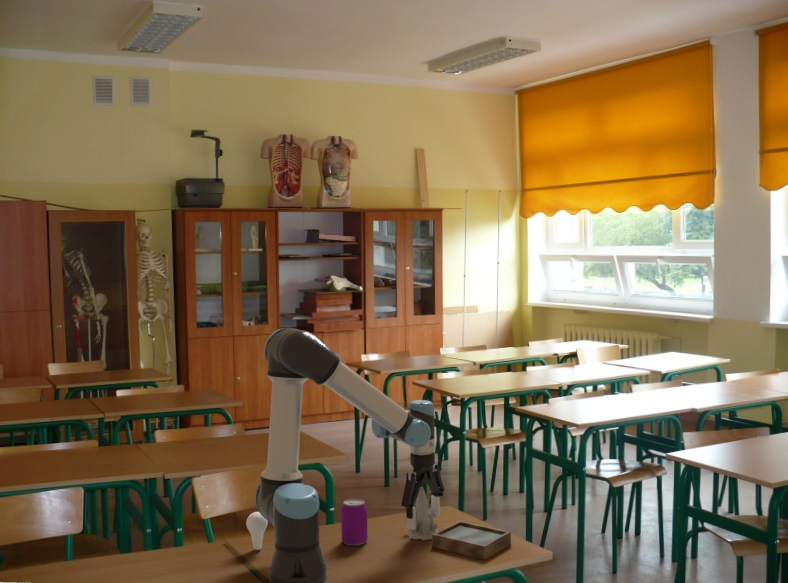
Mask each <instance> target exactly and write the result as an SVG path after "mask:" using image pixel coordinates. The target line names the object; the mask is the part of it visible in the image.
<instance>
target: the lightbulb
mask: <svg viewBox="0 0 788 583" xmlns="http://www.w3.org/2000/svg"><path fill="white" fill-rule="evenodd" d="M245 523H246V524H245V525H246V528H247V530H248V532H249V533H250V536H251V541H252V547H253V549H255V551H259V550H260V549H262V548H263V542H264V534H265V531H266V530H267V527H268V525H269V524H268V523H269V521H268V520H266V519H265V518H264V517H263V516H262V515H261V514H260V513H259V511H254V512H252V513H250V514H249V515H248V517H247V518H246V522H245Z"/></svg>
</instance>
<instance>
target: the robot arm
mask: <svg viewBox="0 0 788 583" xmlns="http://www.w3.org/2000/svg"><path fill="white" fill-rule="evenodd" d="M263 348H264V349H263V351H264V352H263V353H264V356H265V359H266V361H267V374H266V375H267V378H268V379H269V380H270V381H271V383H272V385H271V396H270V397H271V399H270V410H269V412H270V413H269V429H268V446H267V460H266V468H265V469H264V470H263V471H262V472H261V473H260V483H258V485H257V487H256V490H255V492H254V503H255V507H256V509H257V512H259V513H260V514H261V515H262V516H263V517H264V518H265V519H266V520H268V523H270V524H271V525H272V526H273V528H274V552H273V555H272V559H271V563H270V566H269V570H268V582H270V583H322V582H323V581H325V580H326V578H327V576H328V574H327V573H328V572H327V570H328V569H327V565H326V562H325V560H324V556H323V554H322V550H321V546H320V500H319V493H318V491H317V490H316V489H315V488H314V487H313V486H311V485H309V484H304V483H303V482H304V481H303V480H304V479H303V478H304V475H303V473H302V472H301V471H300V469H299V457H300V442H301V441H300V440H301V439H300V437H301V424H302V408H303V392H304V391H303V390H304V383H306V381H308V380H310V381H312V382H313V383H315V384H316V385H318V386H323V385H324V386H326V387H327V388H328V389H330V390H331V391H332V392H334V393H335V394H337V395H338V396H339V397H341V398H342V399H343V400H345V401H346V402H348V403H349V404H351V405H352V406H353V407H355V408H356V409H358V410H359V411H360V412H362V413H363V414H364V415H366V416H367V417H368V418H370V419H371V431H372V433H373V435H374V437H375V438H377V439H387V438H392V439H394V440H396V441H400V442H402V443H404V444H406V445H408V446H409V451H410V454H409V458H410V459H409V463H410V465H411V466H412V468H413V470H412V472H408V471H407V472H406V474H405V476H406V477H405V479H406V480H405V484H404V485H405V486H404V488H403V493H402V494H403V495H402V499H401V503H400V506H401V507H404V508H405V512H406V515H405V516H406V528H407V529H409V530H410V529H413V530H415V529H416V511H417V508H416V506H415V504H416V501H417V498H418V494H419V491H420V488H421V487H422V486H423V487H424V485H425V484H426V485H427V487H428V489H429V490H430V491H431V494H432V495H431V497H430V504H431V505H430V509H431V510H432V513H433V516H434V518H437V519H440V518H441V497H443V496H444V492H445V488H444V483H443V480H442V476H441V473H440V466H439V464H438V463H436V453H435V450H436V444H435V443H436V442H435V441H436V440H435V417H436V415H435V408H434V404H433V402H432V401H431V400H427V399H426V400H425V399H416V400H411V401H410V402H409V403H408V408H406V409H405V408H404V407H402V406H401V405H400V404H398V403H397V402H395V401H394V400H393V399H392V398H391V397H389V396H388V395H386V394H385V393H384V392H382V391H380V389H378V388H377V387H376V386H375V385H373V384H372V383H370V382H369V381H368V380H366V379H365V378H364V377H362V376H361V375H360V374H358V373H357V372H356V371H354V370H353V369H352V368H350V367H349V366H347V365H346V364H344V363H343V362H342V359H341V356H340V355H339V354H338V353H337V352H335V351H334V350H333V349H331V347H329V346H328V345H327V344H326V343H324V341H322V340H321V339H320V338H319V337H317V336H316V335H315V334H313V333H311V332H309V331H307V330H303V329H302V330H301V329H298V328H292V327H284V328H279V329H276V330H275V331H273V332H272V333H271V334H269V336H268V337H267V339H266V341H265V342H264V347H263Z"/></svg>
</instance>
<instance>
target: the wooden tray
mask: <svg viewBox="0 0 788 583" xmlns="http://www.w3.org/2000/svg"><path fill="white" fill-rule="evenodd" d="M431 540H432V545H431V546H432V548H436V549H439V550H444V551H447V552H452V553H456V554H460V555H464V556H469V557H471V558H472V557H473V558H477V559H480V560H484V561H486V560H487V559H489V558H490V557H492V556H494V555H495V553H496V554H497V553H500V552H501V551H503V550H504V549H506V548H508V547H510V546H511V545H512V533H511V531H507V530H503V529H499V528H494V527H490V526H485V525H481V524H477V523H476V524H475V523H471V522H467V521H463V520H458V521H457V522H454V523H451V524H450V525H448V526H446V527H444V528H442V529H440V530H438V532H436V533H434V534H432V539H431ZM500 550H501V551H500Z"/></svg>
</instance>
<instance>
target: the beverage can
mask: <svg viewBox="0 0 788 583" xmlns="http://www.w3.org/2000/svg"><path fill="white" fill-rule="evenodd" d="M342 503H343V504H342V507H341V510H340V517H341V518H340V521H341V522H340V523H341V524H340V525H341V526H340V528H341V541H342V542H343V544H345V545H347V546H351V547H355V546H357V545H358V546H362V545H364V544H365V543H366V542H368V537H369V536H368V508H367V505H366V502H365V500H363V499H361V498H360V499H359V498H349V499H345V500H344V501H343V502H342ZM361 544H362V545H361Z"/></svg>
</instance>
